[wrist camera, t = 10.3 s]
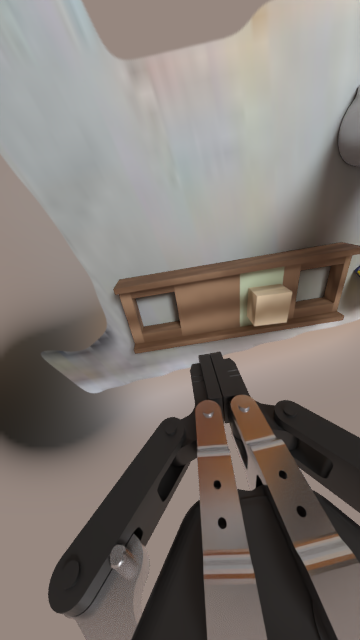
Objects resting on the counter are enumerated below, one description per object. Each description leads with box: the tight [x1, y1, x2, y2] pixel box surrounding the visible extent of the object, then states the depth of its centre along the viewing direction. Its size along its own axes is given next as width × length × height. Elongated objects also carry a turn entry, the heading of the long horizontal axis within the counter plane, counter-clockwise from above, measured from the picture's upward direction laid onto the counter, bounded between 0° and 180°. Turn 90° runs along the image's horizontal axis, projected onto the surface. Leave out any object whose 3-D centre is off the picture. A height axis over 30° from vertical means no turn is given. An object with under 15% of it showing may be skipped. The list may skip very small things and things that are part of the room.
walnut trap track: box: [113, 242, 360, 354], centre depth 39 cm, size 14×42×5 cm, turn 98°
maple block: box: [247, 284, 292, 326], centre depth 37 cm, size 6×6×4 cm
